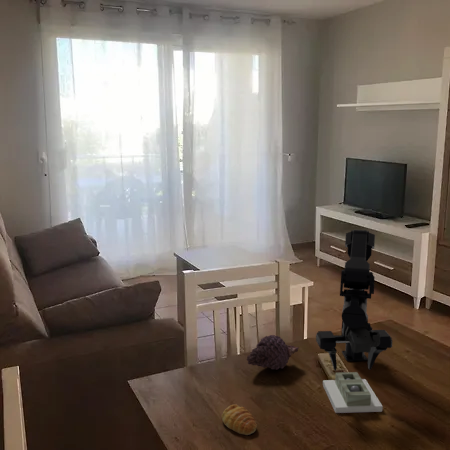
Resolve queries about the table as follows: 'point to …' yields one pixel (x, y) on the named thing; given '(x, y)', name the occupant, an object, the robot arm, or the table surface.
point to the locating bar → (345, 385)
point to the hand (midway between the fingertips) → (352, 369)
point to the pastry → (239, 420)
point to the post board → (340, 404)
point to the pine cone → (271, 353)
